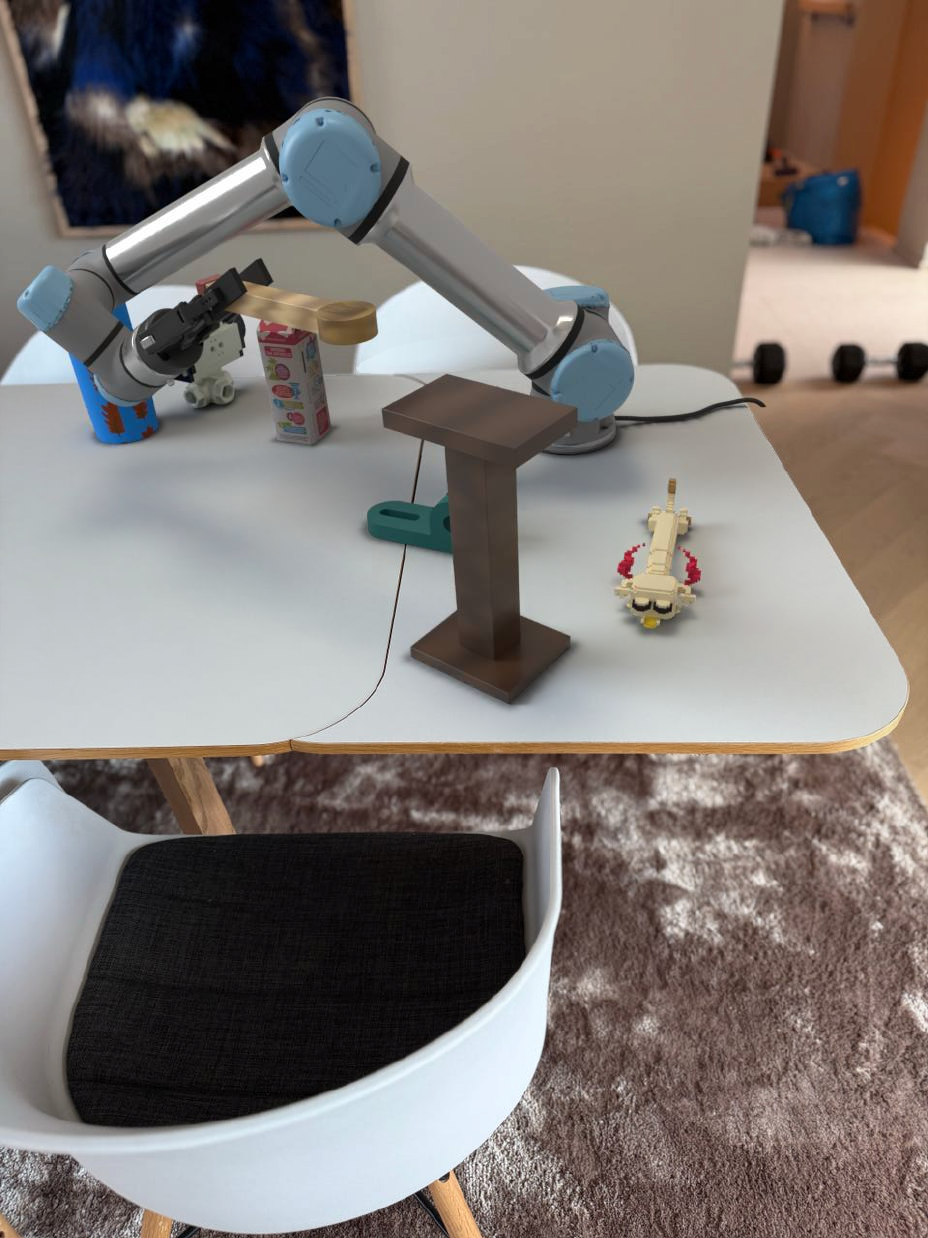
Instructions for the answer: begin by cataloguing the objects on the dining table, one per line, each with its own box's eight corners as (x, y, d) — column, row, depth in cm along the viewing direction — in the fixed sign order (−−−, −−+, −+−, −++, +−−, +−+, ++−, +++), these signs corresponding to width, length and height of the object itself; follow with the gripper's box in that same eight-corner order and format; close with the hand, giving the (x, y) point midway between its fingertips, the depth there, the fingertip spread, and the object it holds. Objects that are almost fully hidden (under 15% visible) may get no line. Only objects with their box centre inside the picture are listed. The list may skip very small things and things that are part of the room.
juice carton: (297, 423, 157) (273, 294, 144) (331, 427, 155) (310, 297, 142) (277, 440, 152) (251, 308, 139) (312, 445, 150) (289, 311, 137)
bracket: (497, 532, 125) (495, 482, 120) (477, 558, 120) (474, 506, 116) (382, 511, 132) (376, 462, 127) (359, 534, 127) (352, 484, 122)
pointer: (190, 308, 103) (184, 284, 101) (231, 293, 106) (226, 270, 105) (349, 349, 90) (346, 323, 88) (390, 330, 93) (387, 305, 92)
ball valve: (196, 424, 159) (170, 324, 148) (161, 416, 163) (134, 317, 152) (264, 386, 171) (244, 290, 160) (230, 379, 175) (209, 285, 164)
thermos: (172, 423, 160) (133, 278, 145) (125, 449, 153) (78, 299, 138) (130, 412, 165) (88, 270, 150) (83, 436, 158) (33, 290, 143)
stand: (404, 653, 105) (373, 412, 87) (468, 602, 113) (452, 369, 95) (516, 708, 97) (508, 453, 79) (578, 649, 104) (583, 403, 86)
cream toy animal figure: (631, 529, 126) (605, 625, 106) (635, 470, 121) (609, 559, 101) (705, 536, 124) (693, 636, 104) (712, 476, 119) (701, 569, 99)
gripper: (228, 353, 121) (322, 287, 104) (126, 397, 111) (211, 331, 94) (198, 300, 119) (289, 223, 102) (92, 339, 110) (172, 261, 92)
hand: (251, 275), depth 98 cm, fingers closed on pointer, 3 cm apart
